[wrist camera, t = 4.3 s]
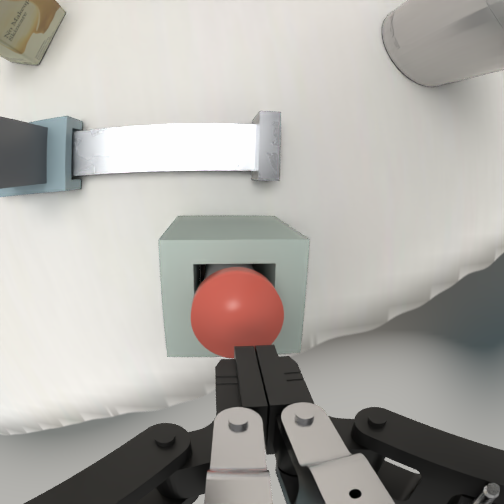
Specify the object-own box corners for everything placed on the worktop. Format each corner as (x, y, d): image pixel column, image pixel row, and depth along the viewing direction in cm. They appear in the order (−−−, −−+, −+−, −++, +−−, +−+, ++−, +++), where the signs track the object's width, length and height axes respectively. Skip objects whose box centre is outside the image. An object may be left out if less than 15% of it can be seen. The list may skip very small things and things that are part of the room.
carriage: (82, 121, 23) (11, 96, 12) (80, 188, 24) (7, 200, 13) (18, 132, 22) (-61, 121, 11) (18, 194, 23) (-63, 209, 12)
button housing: (274, 215, 27) (309, 239, 17) (271, 296, 29) (299, 355, 19) (177, 215, 26) (158, 240, 16) (180, 298, 28) (167, 359, 18)
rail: (270, 120, 25) (280, 111, 21) (269, 179, 26) (279, 180, 22) (5, 139, 22) (-19, 137, 18) (4, 191, 23) (-20, 195, 19)
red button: (257, 234, 25) (286, 273, 15) (255, 290, 26) (281, 356, 16) (197, 234, 25) (188, 274, 15) (198, 291, 26) (193, 359, 16)
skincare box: (39, 66, 21) (-36, 25, 9) (10, 62, 20) (-65, 28, 8) (69, 9, 20) (13, -52, 8) (38, 8, 19) (-21, -44, 7)
